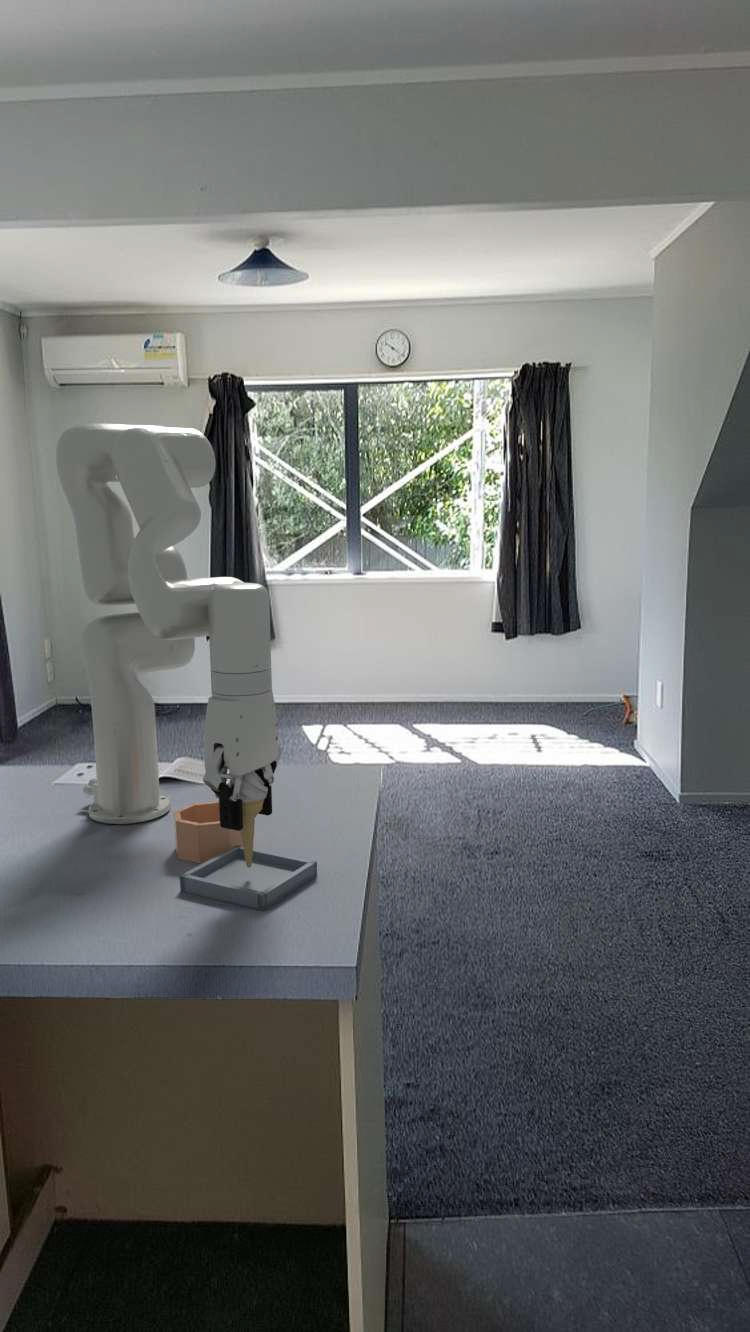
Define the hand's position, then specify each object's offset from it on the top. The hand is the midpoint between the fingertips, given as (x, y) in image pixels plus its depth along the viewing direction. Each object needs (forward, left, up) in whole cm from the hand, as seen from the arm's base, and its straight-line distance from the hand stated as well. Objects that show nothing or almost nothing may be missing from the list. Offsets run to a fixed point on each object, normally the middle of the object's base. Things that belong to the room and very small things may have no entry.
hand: (246, 819), depth 123 cm
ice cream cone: (0, 0, -7) cm, 7 cm away
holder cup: (-12, +7, -9) cm, 16 cm away
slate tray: (0, 0, -9) cm, 9 cm away
